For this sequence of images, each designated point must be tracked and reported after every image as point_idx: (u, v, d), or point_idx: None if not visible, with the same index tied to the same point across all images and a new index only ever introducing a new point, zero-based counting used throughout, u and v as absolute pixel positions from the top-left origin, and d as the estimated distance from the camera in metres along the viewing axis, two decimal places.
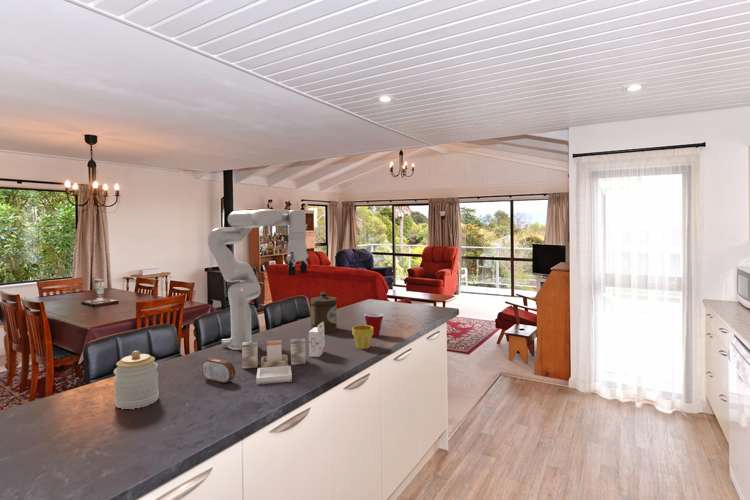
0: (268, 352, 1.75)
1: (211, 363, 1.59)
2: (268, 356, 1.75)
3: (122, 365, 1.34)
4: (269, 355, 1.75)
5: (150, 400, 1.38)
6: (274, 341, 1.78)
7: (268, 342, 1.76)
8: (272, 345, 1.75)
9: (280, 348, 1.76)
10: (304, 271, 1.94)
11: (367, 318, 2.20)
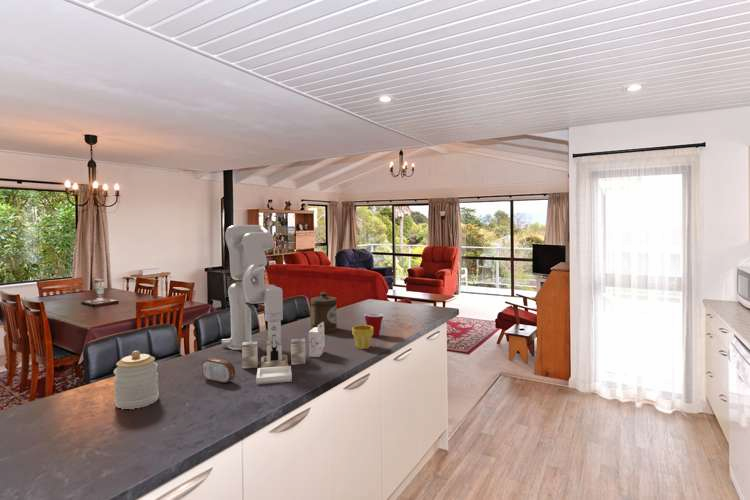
0: (268, 352, 1.75)
1: (211, 363, 1.59)
2: (268, 356, 1.75)
3: (122, 365, 1.34)
4: (269, 355, 1.75)
5: (150, 400, 1.38)
6: None
7: (268, 342, 1.76)
8: (272, 345, 1.75)
9: (280, 348, 1.76)
10: None
11: (367, 318, 2.20)
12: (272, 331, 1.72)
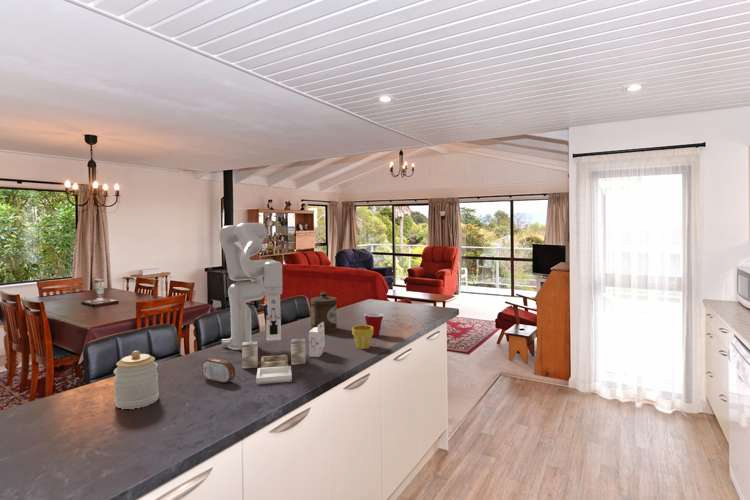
0: (267, 326, 1.75)
1: (211, 363, 1.59)
2: (267, 330, 1.75)
3: (122, 365, 1.34)
4: (268, 329, 1.75)
5: (150, 400, 1.38)
6: None
7: (267, 316, 1.76)
8: (271, 319, 1.75)
9: (279, 323, 1.76)
10: None
11: (367, 318, 2.20)
12: (271, 305, 1.72)
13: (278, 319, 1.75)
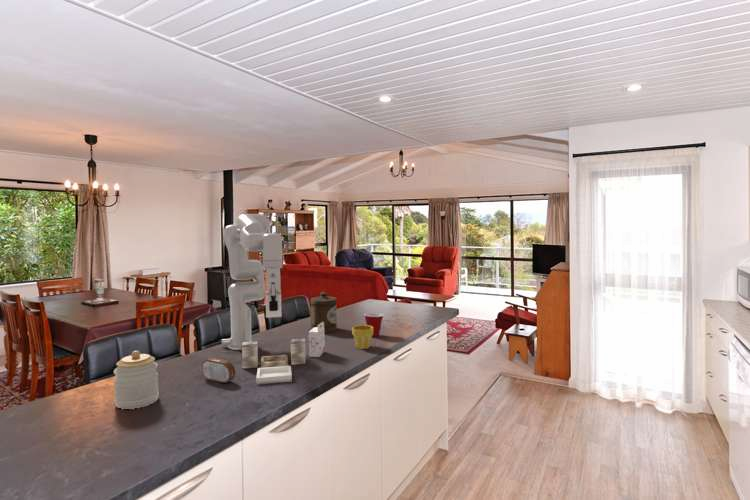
0: (267, 302, 1.64)
1: (211, 363, 1.59)
2: (267, 306, 1.64)
3: (122, 365, 1.34)
4: (268, 305, 1.65)
5: (150, 400, 1.38)
6: None
7: (267, 292, 1.66)
8: None
9: (279, 298, 1.65)
10: None
11: (367, 318, 2.20)
12: (271, 279, 1.61)
13: (278, 294, 1.65)
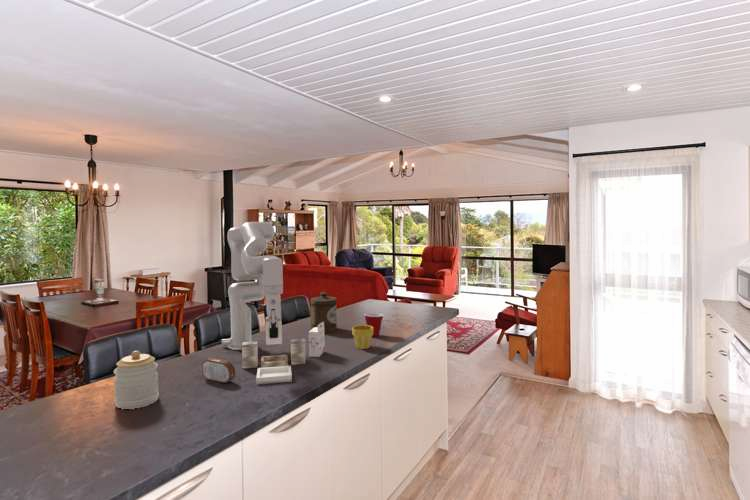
0: (267, 329, 1.59)
1: (211, 363, 1.59)
2: (267, 333, 1.59)
3: (122, 365, 1.34)
4: (268, 332, 1.59)
5: (150, 400, 1.38)
6: None
7: (267, 318, 1.60)
8: (271, 321, 1.59)
9: (280, 325, 1.60)
10: None
11: (367, 318, 2.20)
12: (271, 305, 1.56)
13: (279, 321, 1.59)
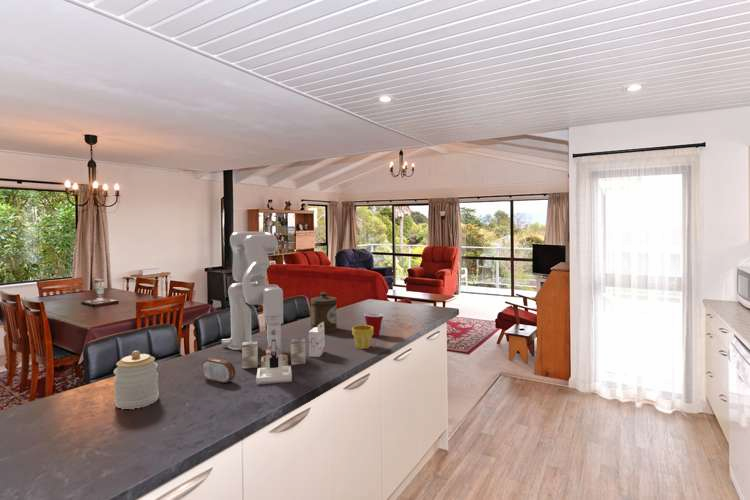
0: (267, 362, 1.60)
1: (211, 363, 1.59)
2: (267, 367, 1.60)
3: (122, 365, 1.34)
4: (268, 365, 1.60)
5: (150, 400, 1.38)
6: None
7: (267, 351, 1.61)
8: None
9: (280, 358, 1.61)
10: None
11: (367, 318, 2.20)
12: (271, 336, 1.56)
13: (279, 354, 1.60)
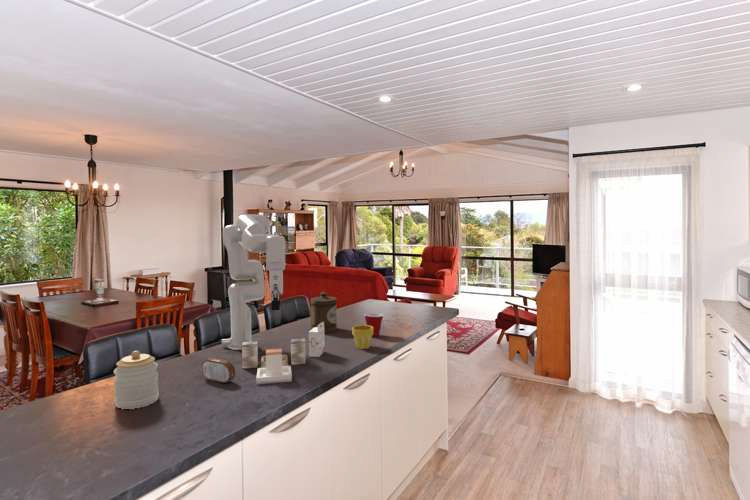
0: (267, 362, 1.60)
1: (211, 363, 1.59)
2: (267, 367, 1.60)
3: (122, 365, 1.34)
4: (268, 365, 1.60)
5: (150, 400, 1.38)
6: (274, 350, 1.62)
7: (267, 351, 1.61)
8: (271, 355, 1.60)
9: (280, 358, 1.61)
10: None
11: (367, 318, 2.20)
12: (273, 280, 1.64)
13: (279, 354, 1.60)
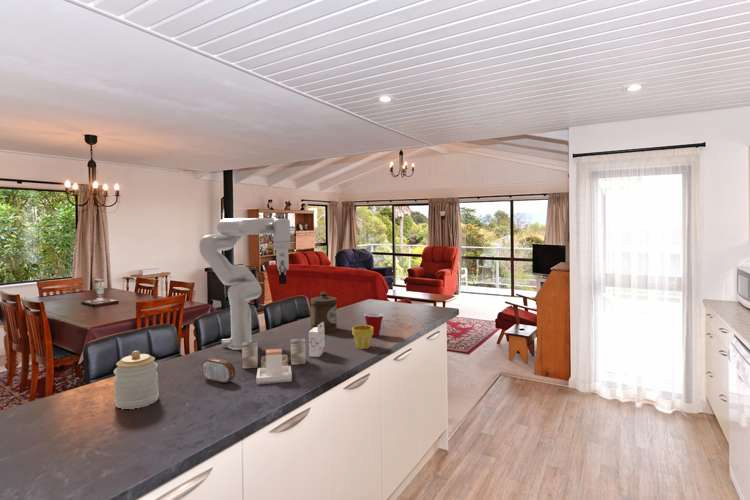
0: (267, 362, 1.60)
1: (211, 363, 1.59)
2: (267, 367, 1.60)
3: (122, 365, 1.34)
4: (268, 365, 1.60)
5: (150, 400, 1.38)
6: (274, 350, 1.62)
7: (267, 351, 1.61)
8: (271, 355, 1.60)
9: (280, 358, 1.61)
10: None
11: (367, 318, 2.20)
12: (280, 257, 1.86)
13: (279, 354, 1.60)
